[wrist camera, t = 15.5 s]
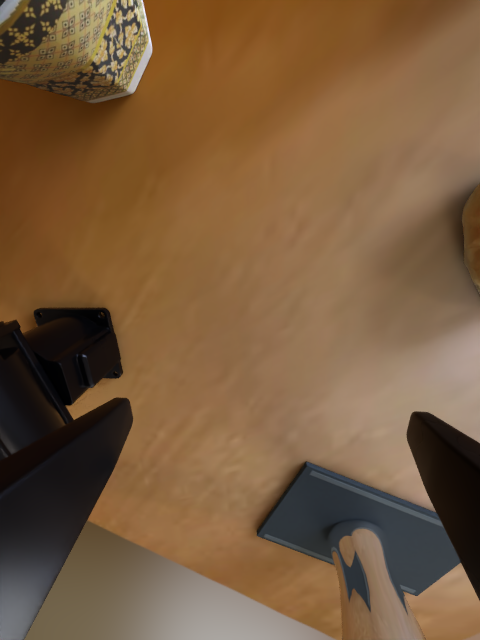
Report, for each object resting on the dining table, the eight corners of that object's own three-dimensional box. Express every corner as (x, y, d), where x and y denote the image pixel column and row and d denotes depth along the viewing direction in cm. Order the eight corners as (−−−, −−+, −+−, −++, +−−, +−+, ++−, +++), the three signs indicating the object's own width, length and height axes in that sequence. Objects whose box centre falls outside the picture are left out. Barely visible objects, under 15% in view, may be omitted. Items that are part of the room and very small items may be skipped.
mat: (256, 531, 31) (256, 536, 30) (306, 461, 26) (307, 466, 26) (414, 590, 32) (417, 596, 31) (488, 533, 27) (492, 539, 27)
